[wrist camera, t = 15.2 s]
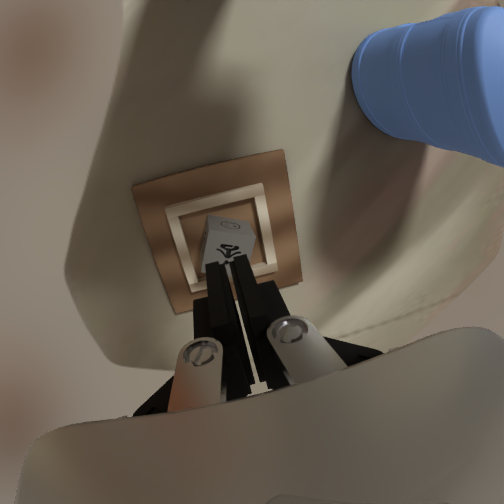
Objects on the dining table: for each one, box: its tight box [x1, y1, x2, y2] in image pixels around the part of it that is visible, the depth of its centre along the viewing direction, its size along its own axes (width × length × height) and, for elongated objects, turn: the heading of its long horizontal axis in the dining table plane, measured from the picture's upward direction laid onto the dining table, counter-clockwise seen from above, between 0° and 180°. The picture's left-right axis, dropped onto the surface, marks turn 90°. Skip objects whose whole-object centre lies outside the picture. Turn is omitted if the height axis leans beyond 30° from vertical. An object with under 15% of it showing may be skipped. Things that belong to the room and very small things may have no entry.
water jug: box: [352, 6, 504, 167], centre depth 20 cm, size 16×16×28 cm
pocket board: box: [131, 149, 303, 313], centre depth 37 cm, size 18×18×2 cm
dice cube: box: [200, 214, 256, 276], centre depth 35 cm, size 5×5×5 cm
